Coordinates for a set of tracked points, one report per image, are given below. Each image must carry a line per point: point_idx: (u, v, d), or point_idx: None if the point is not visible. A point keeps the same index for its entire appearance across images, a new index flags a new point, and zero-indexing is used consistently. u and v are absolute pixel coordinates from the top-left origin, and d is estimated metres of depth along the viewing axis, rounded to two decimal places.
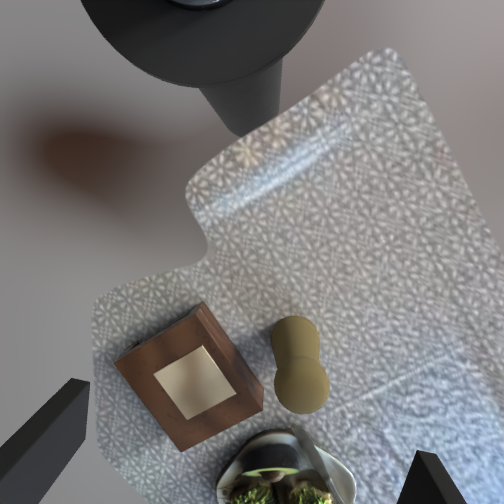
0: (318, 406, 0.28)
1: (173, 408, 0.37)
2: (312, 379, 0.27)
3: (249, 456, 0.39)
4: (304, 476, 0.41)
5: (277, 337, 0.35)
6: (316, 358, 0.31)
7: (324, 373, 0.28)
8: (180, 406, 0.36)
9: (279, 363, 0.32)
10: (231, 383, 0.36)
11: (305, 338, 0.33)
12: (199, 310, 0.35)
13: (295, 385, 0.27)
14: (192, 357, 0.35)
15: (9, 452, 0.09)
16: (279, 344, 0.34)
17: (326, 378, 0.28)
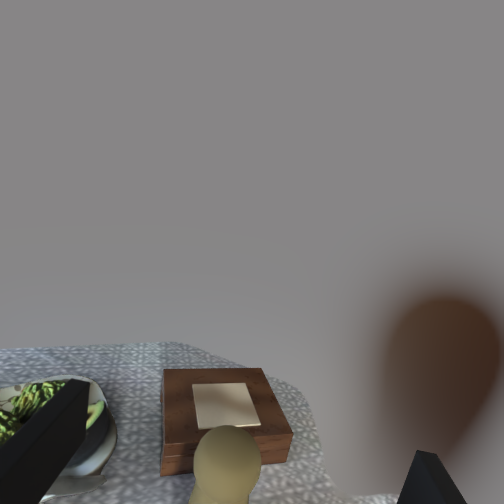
0: (210, 453, 0.22)
1: (207, 381, 0.40)
2: (247, 461, 0.22)
3: None
4: None
5: None
6: None
7: (239, 488, 0.21)
8: (207, 385, 0.39)
9: None
10: None
11: None
12: (289, 443, 0.35)
13: (246, 441, 0.24)
14: (251, 412, 0.36)
15: (9, 452, 0.09)
16: None
17: (235, 484, 0.21)
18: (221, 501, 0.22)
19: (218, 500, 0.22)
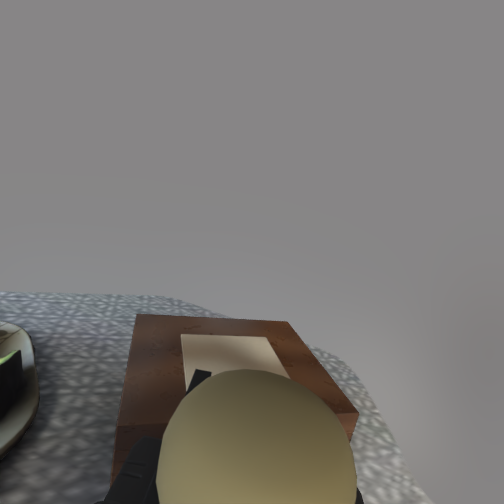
0: (208, 434, 0.07)
1: (205, 332, 0.25)
2: (326, 460, 0.07)
3: (23, 378, 0.19)
4: None
5: None
6: None
7: None
8: (206, 337, 0.24)
9: None
10: None
11: None
12: (351, 430, 0.19)
13: (309, 405, 0.08)
14: None
15: None
16: None
17: None
18: None
19: None
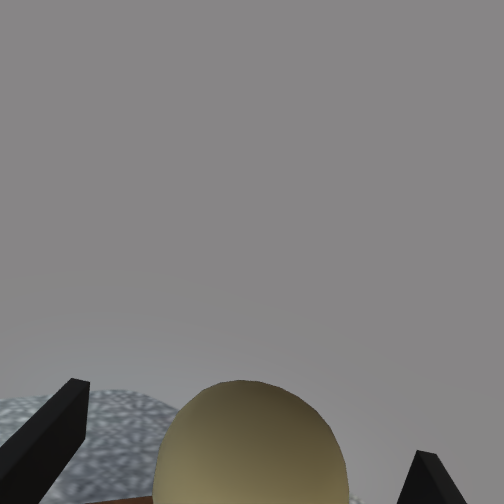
0: (203, 450, 0.07)
1: None
2: (319, 474, 0.07)
3: None
4: None
5: None
6: None
7: None
8: None
9: None
10: None
11: None
12: None
13: (303, 417, 0.09)
14: None
15: (9, 452, 0.09)
16: None
17: None
18: None
19: None
